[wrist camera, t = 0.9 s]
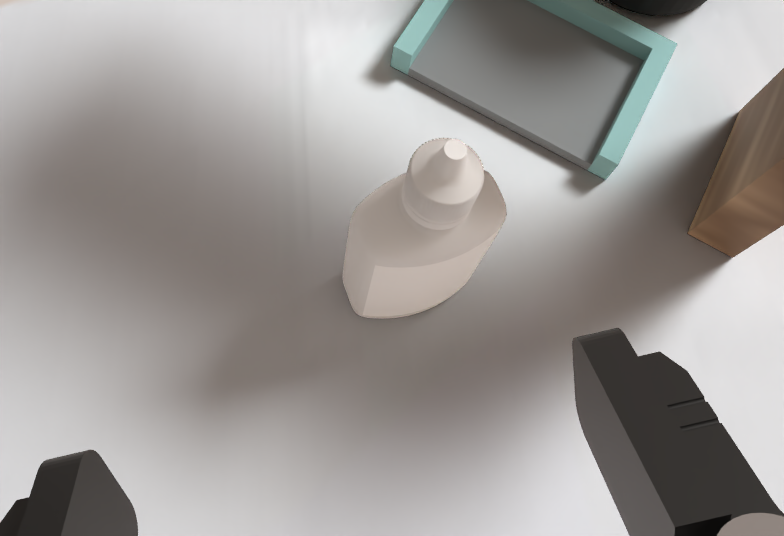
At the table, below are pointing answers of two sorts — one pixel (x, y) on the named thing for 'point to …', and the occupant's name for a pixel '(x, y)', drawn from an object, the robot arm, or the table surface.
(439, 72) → the mint green tray
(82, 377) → the table surface
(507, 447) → the table surface
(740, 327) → the table surface
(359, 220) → the eye dropper bottle
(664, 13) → the pen holder
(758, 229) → the shelf
